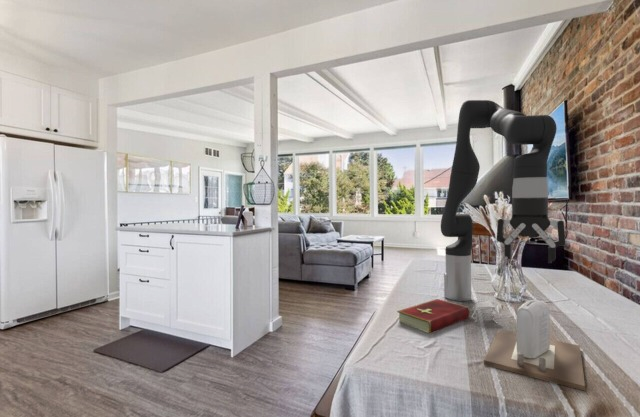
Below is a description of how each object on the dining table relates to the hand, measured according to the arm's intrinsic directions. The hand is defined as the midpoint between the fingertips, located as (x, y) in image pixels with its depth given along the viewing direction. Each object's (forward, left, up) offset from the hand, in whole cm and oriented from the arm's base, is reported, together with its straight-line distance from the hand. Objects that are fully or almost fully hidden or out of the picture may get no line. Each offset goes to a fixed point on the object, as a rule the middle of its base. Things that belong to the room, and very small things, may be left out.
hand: (529, 260), depth 80 cm
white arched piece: (-13, +18, -23) cm, 32 cm away
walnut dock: (+1, -3, -23) cm, 23 cm away
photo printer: (+1, -3, -22) cm, 22 cm away
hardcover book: (-26, +7, -23) cm, 36 cm away
